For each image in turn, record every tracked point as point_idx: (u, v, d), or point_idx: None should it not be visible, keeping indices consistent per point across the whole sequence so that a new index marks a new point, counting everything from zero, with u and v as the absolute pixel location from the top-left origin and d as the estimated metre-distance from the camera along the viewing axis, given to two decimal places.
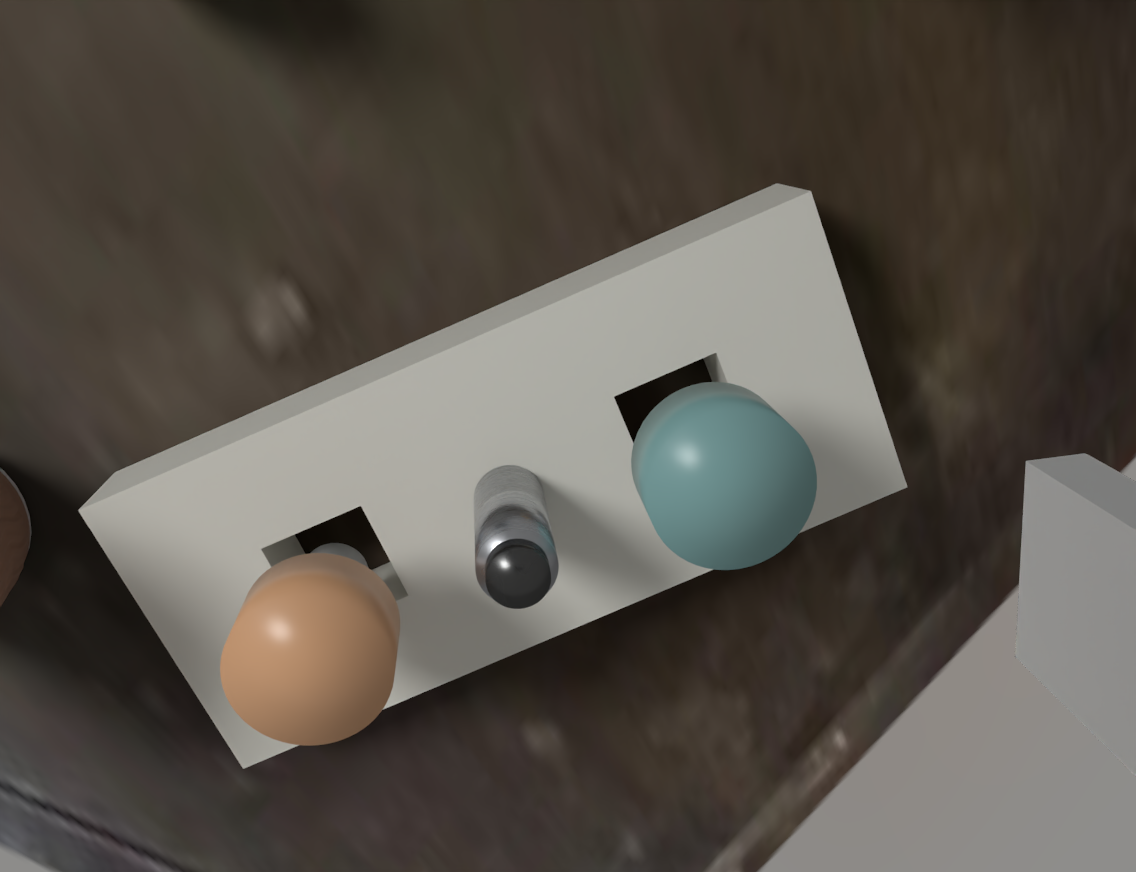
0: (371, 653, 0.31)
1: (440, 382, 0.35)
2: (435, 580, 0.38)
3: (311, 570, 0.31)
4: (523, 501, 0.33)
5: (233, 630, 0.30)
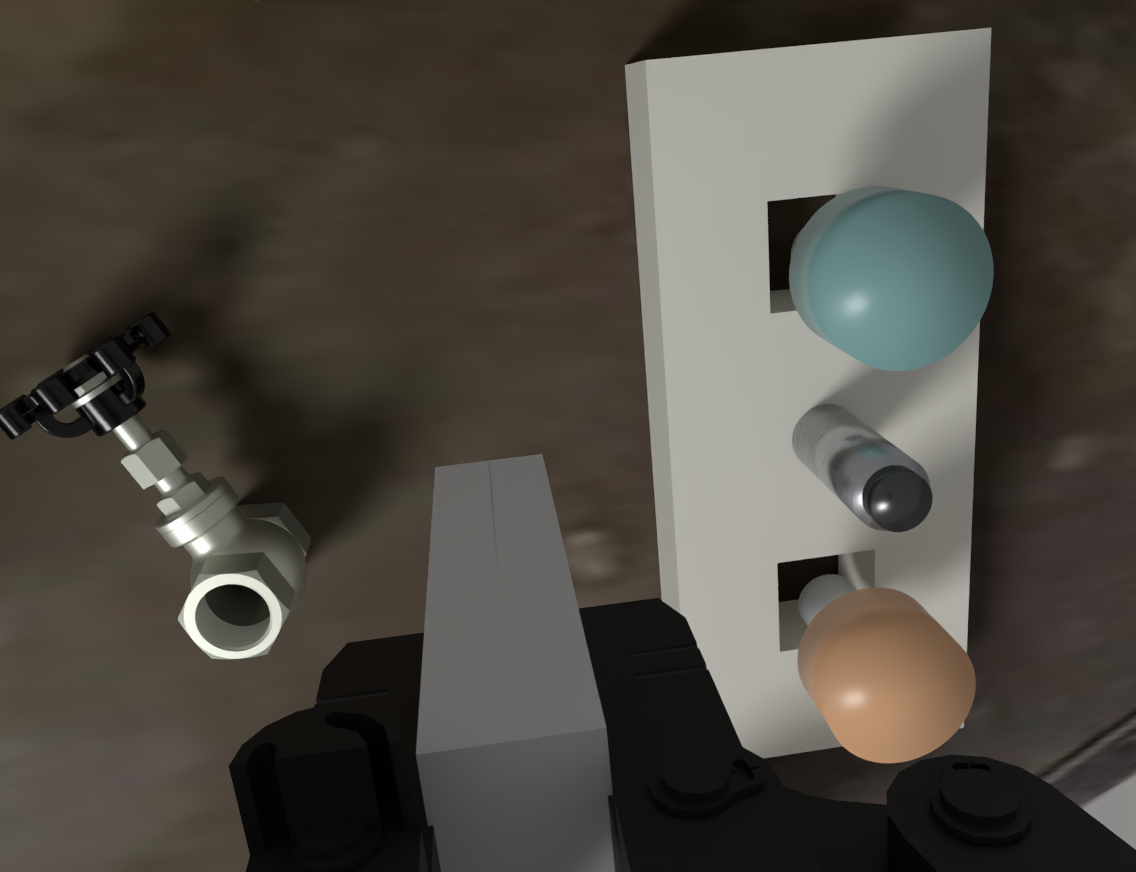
0: (910, 644, 0.33)
1: (696, 464, 0.38)
2: None
3: (815, 654, 0.35)
4: (833, 449, 0.35)
5: (838, 740, 0.34)
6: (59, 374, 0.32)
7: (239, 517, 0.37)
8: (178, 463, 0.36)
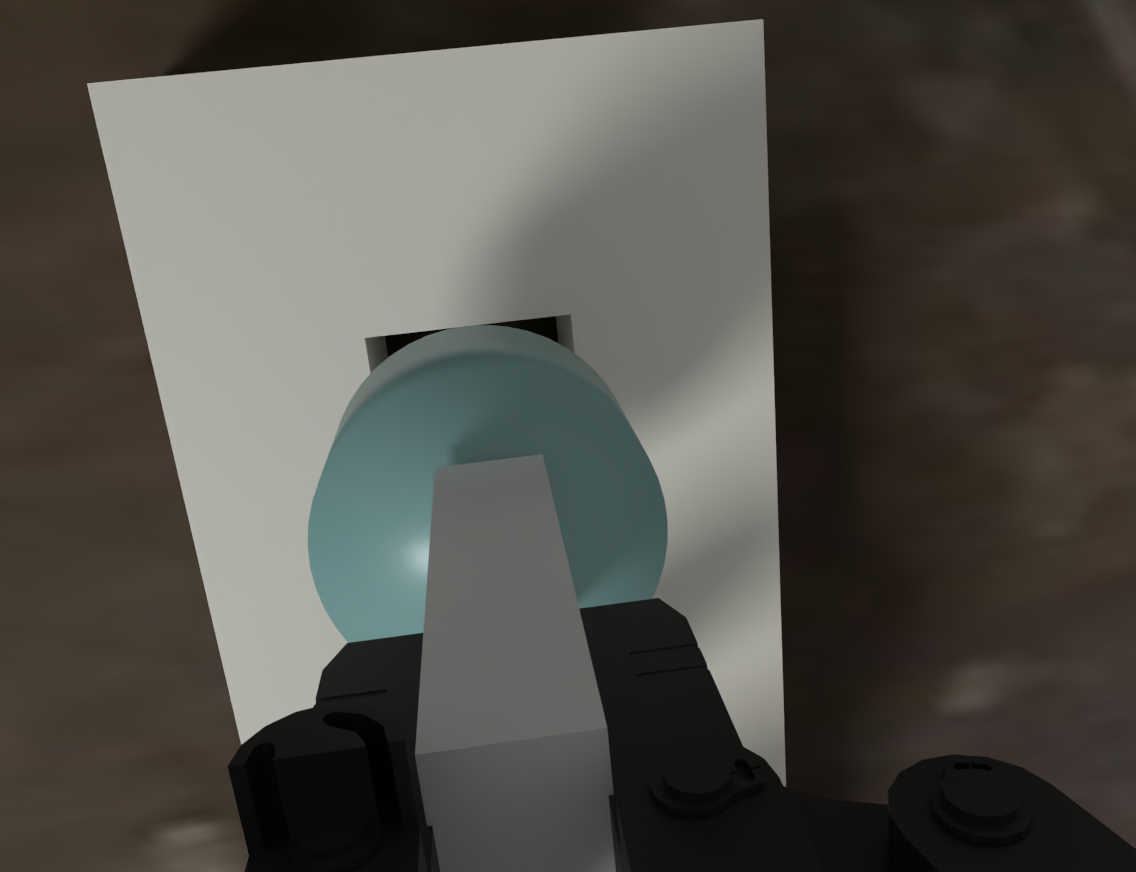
0: None
1: None
2: None
3: None
4: None
5: None
6: None
7: None
8: None
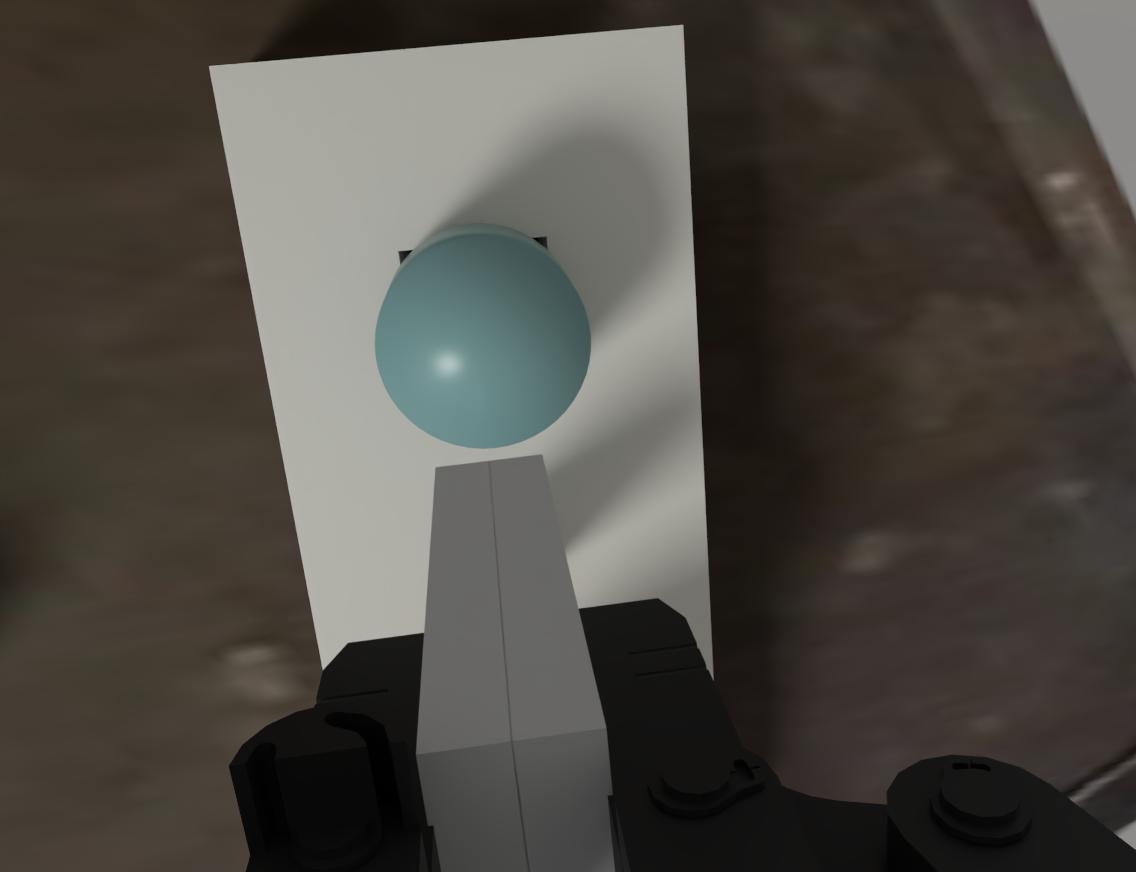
0: None
1: (340, 582, 0.30)
2: None
3: None
4: None
5: None
6: None
7: None
8: None
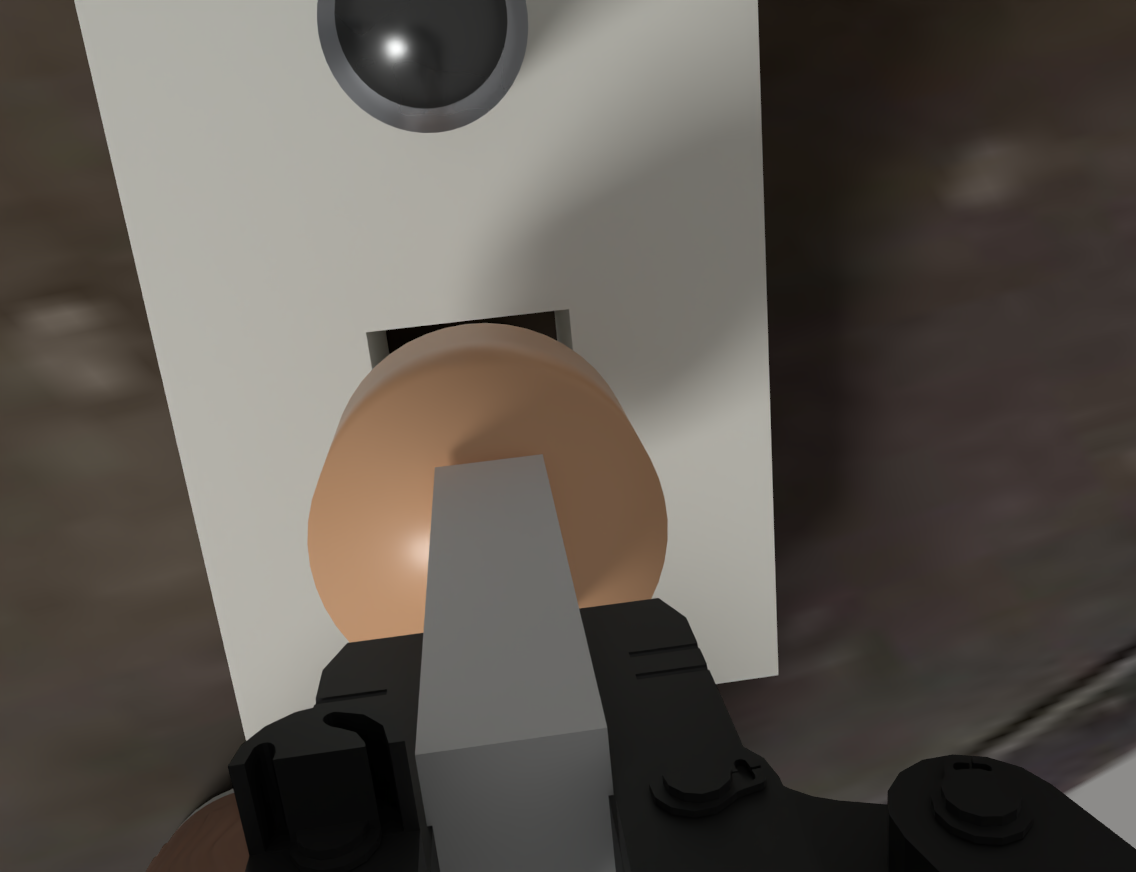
0: (492, 409, 0.14)
1: (156, 102, 0.18)
2: (556, 250, 0.20)
3: None
4: None
5: None
6: None
7: None
8: None
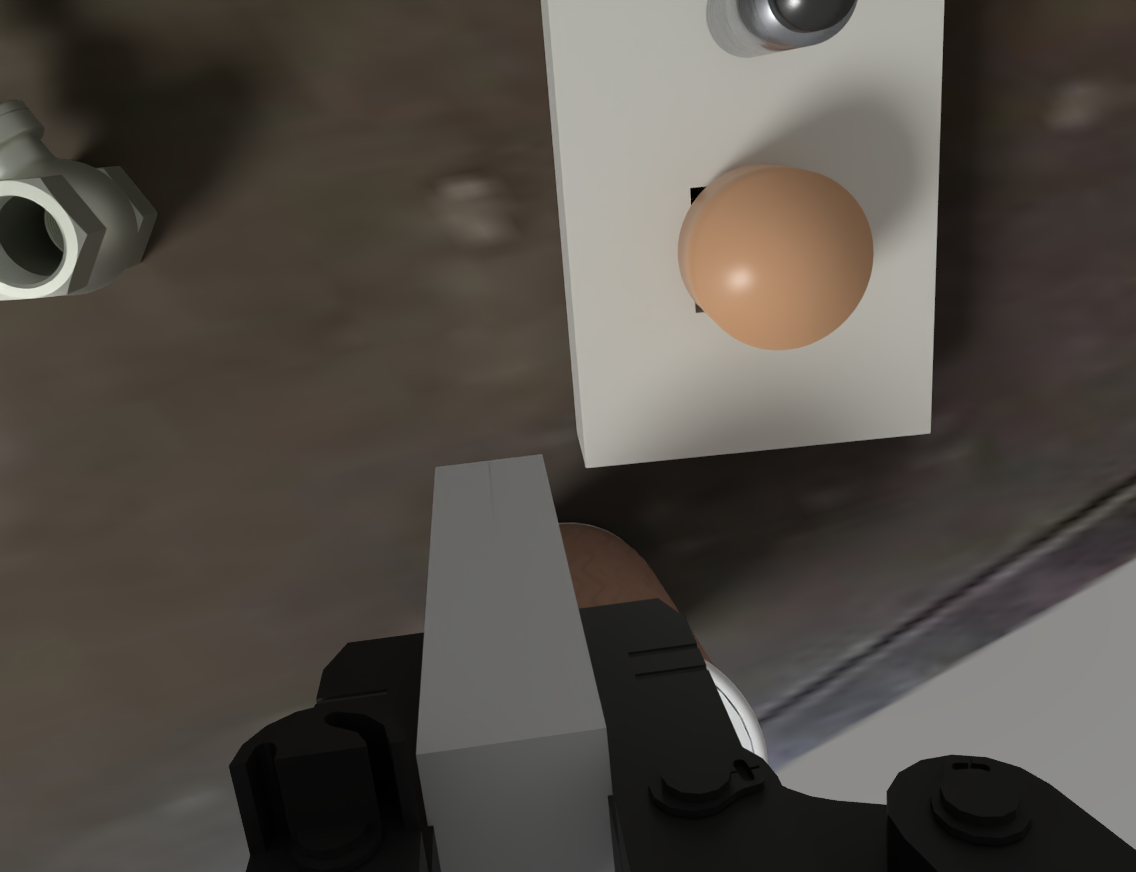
0: (792, 190, 0.28)
1: (584, 41, 0.30)
2: (810, 138, 0.32)
3: (691, 225, 0.30)
4: None
5: (710, 314, 0.29)
6: None
7: (41, 147, 0.31)
8: None
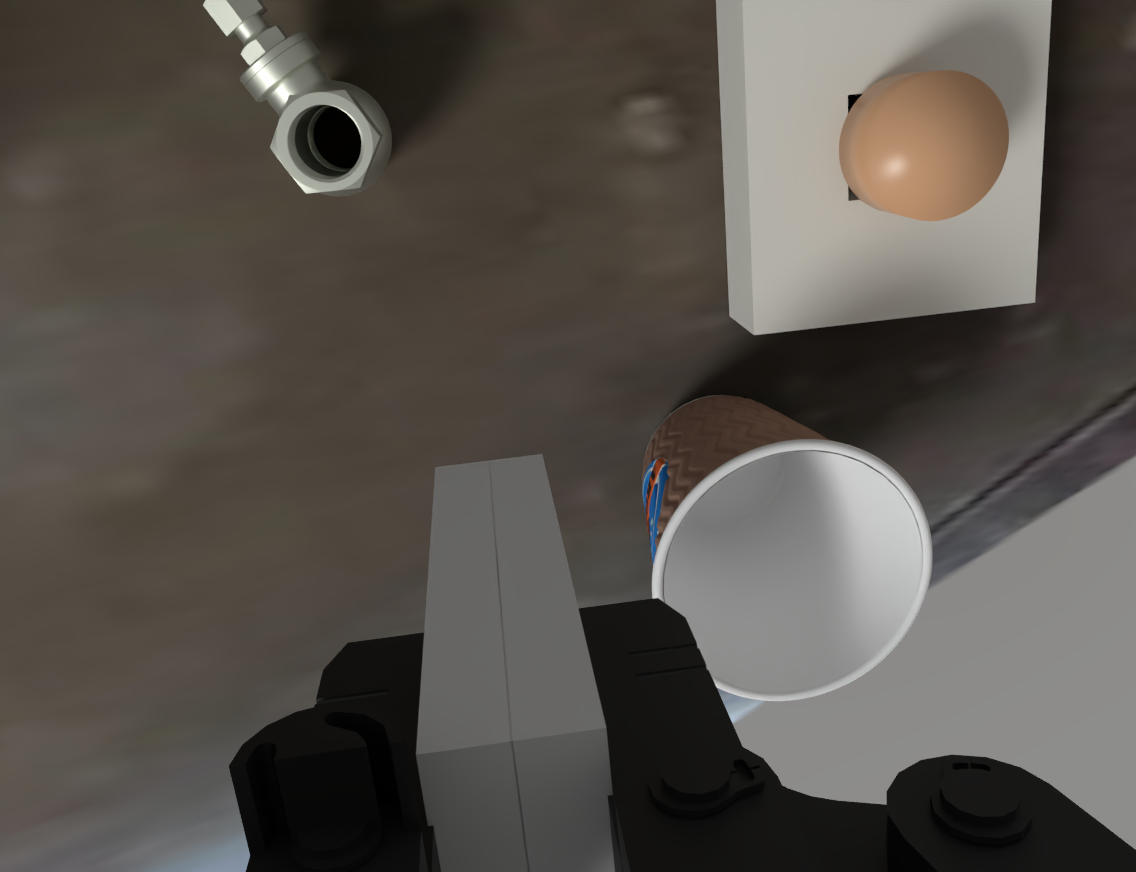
0: (947, 88, 0.35)
1: None
2: (945, 53, 0.39)
3: (857, 122, 0.37)
4: None
5: (879, 191, 0.36)
6: None
7: (322, 71, 0.37)
8: (259, 5, 0.36)
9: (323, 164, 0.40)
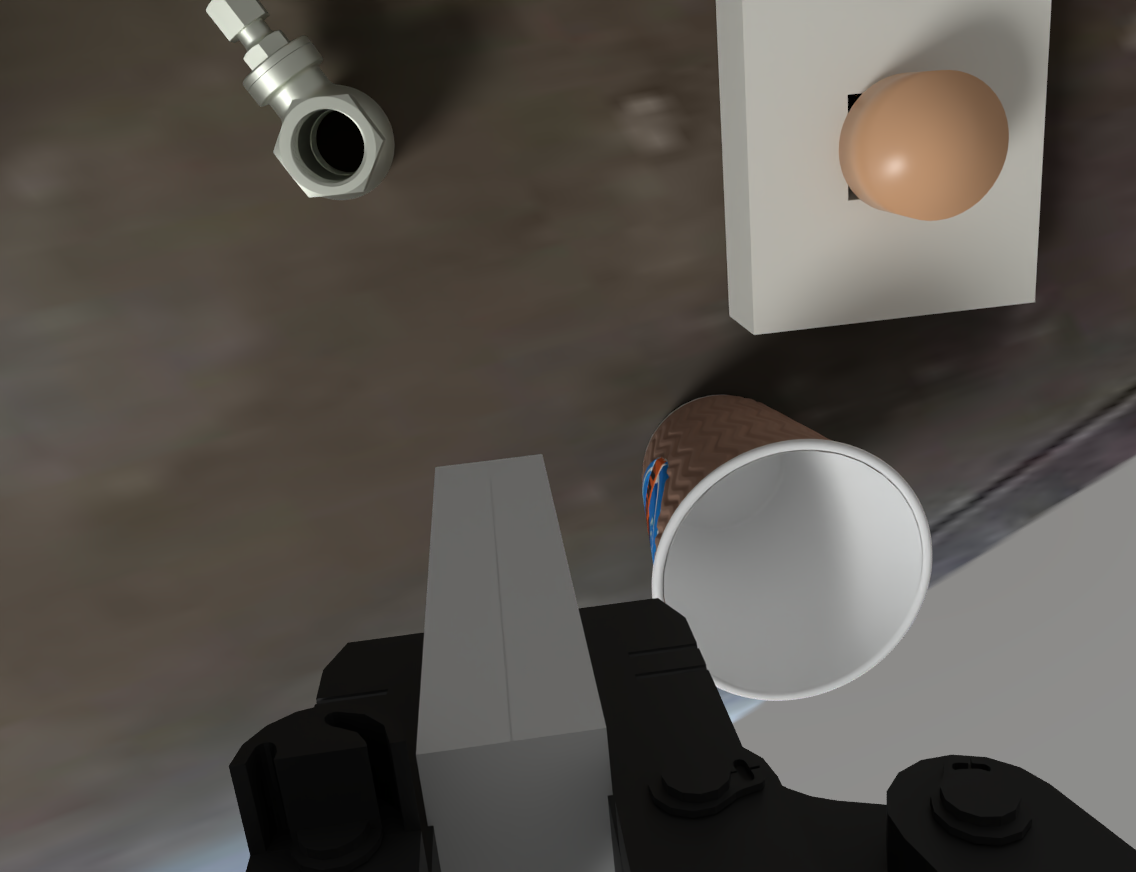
0: (947, 87, 0.35)
1: None
2: (945, 52, 0.39)
3: (857, 122, 0.37)
4: None
5: (879, 191, 0.36)
6: None
7: (324, 75, 0.37)
8: (262, 10, 0.36)
9: (326, 168, 0.40)
